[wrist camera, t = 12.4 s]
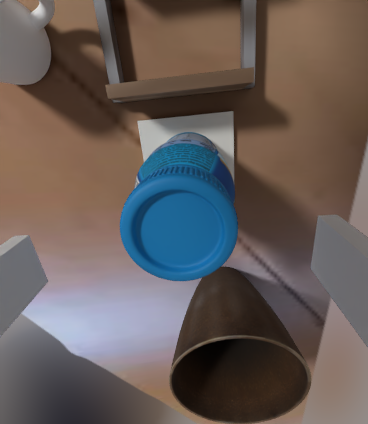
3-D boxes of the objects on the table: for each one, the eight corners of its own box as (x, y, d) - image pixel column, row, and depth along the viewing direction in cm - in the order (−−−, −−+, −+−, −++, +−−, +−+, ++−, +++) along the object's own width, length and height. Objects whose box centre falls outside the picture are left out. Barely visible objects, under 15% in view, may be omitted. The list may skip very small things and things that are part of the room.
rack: (91, -39, 24) (53, -95, 18) (252, -66, 23) (274, -137, 16) (118, 103, 29) (96, 100, 23) (250, 88, 28) (267, 80, 21)
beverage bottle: (187, 115, 29) (169, 117, 10) (234, 161, 31) (290, 233, 12) (145, 165, 31) (72, 237, 13) (190, 205, 33) (183, 316, 15)
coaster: (138, 120, 30) (137, 121, 29) (232, 111, 29) (233, 111, 28) (152, 207, 34) (151, 208, 34) (233, 201, 33) (234, 202, 33)
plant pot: (287, 274, 38) (344, 376, 23) (233, 328, 43) (252, 439, 29) (210, 230, 36) (220, 313, 21) (163, 294, 41) (145, 395, 26)
